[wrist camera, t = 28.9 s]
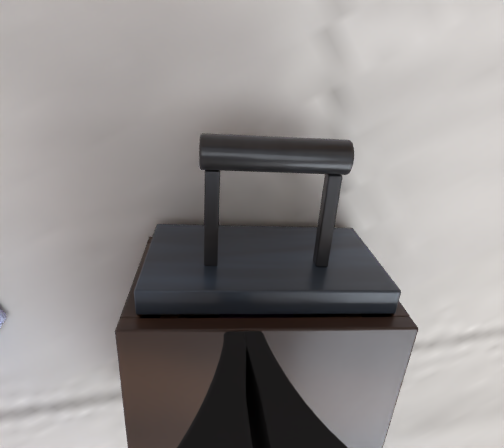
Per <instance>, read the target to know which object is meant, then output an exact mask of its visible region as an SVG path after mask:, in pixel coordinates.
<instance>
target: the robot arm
mask: <svg viewBox="0 0 504 448" xmlns="http://www.w3.org/2000/svg"><path fill="white" fill-rule="evenodd" d="M5 319H6V314H5V312H4V311H2V310H1V309H0V328H1V326H2V324H3V323H4V321H5ZM177 448H348V447H347V446H346V445H345V444H344V443H343V442H342V441H341V440H340V439H338V438H337V437H336V436H335V435H334V434H333V433H332V432H331V431H330V430H329V429H328V428H327V427H326V426H325V424H324V423H323V422H322V421H321V420H320V419H319V418H318V417H317V416H316V414H315V413H314V412H313V411H312V410H311V409H310V407H309V406H308V405H307V404H306V402H305V401H304V400H303V399H302V397H301V396H300V395H299V393H298V392H297V391H296V389H295V388H294V386H293V385H292V384H291V382H290V381H289V379H288V378H287V376H286V375H285V373H284V371H283V370H282V368H281V367H280V365H279V363H278V362H277V360H276V358H275V356H274V355H273V353H272V351H271V349H270V347H269V345H268V343H267V341H266V339H265V336H264V334H263V333H262V332H261V331H229V332H226V333H225V334H224V341H223V347H222V352H221V355H220V359H219V362H218V365H217V368H216V371H215V374H214V377H213V380H212V382H211V384H210V387H209V389H208V392H207V394H206V396H205V398H204V401H203V403H202V405H201V407H200V409H199V411H198V413H197V415H196V416H195V418H194V420H193V422H192V424H191V425H190V427H189V429H188V431H187V432H186V434H185V436H184V437H183V439H182V441H181V442H180V444H179V445H178V447H177Z"/></svg>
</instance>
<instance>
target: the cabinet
mask: <svg viewBox="0 0 504 448" xmlns="http://www.w3.org/2000/svg"><path fill="white" fill-rule="evenodd" d="M151 240H152V237H149V239H148V242H147V245H146V248H145V250H144V253H143V256H142V259H141V261H140V264H139V267H138V270H137V272H136V275H135V278H134V281H133V283H132V286H131V289H130V292H129V294H128V297H127V300H126V303H125V306H124V308H123V311H122V314H121V317H120V319H119V322H118V325H117V328H116V330H115V334H116V344H117V353H118V362H119V371H120V380H121V389H122V398H123V407H124V416H125V425H126V435H127V444H128V448H177V447H178V445H179V444H180V442H181V441H182V439H183V437H184V436H185V434H186V432H187V431H188V429H189V427H190V425H191V424H192V422H193V420H194V418H195V416H196V415H197V413H198V411H199V409H200V407H201V405H202V403H203V401H204V398H205V396H206V394H207V392H208V389H209V387H210V384H211V382H212V380H213V377H214V374H215V371H216V368H217V365H218V362H219V359H220V355H221V352H222V347H223V341H224V334H225V333H226V332H229V331H261V332H262V333H263V334H264V336H265V339H266V341H267V343H268V345H269V347H270V349H271V351H272V353H273V355H274V356H275V358H276V360H277V362H278V363H279V365H280V367H281V368H282V370H283V371H284V373H285V375H286V376H287V378H288V379H289V381H290V382H291V384H292V385H293V386H294V388H295V389H296V391H297V392H298V393H299V395H300V396H301V397H302V399H303V400H304V401H305V402H306V404H307V405H308V406H309V407H310V409H311V410H312V411H313V412H314V413H315V414H316V416H317V417H318V418H319V419H320V420H321V421H322V422H323V423H324V424H325V426H326V427H327V428H328V429H329V430H330V431H331V432H332V433H333V434H334V435H335V436H336V437H337V438H338V439H340V440H341V441H342V442H343V443H344V444H345V445H346V446H347V447H348V448H383V445H384V442H385V438H386V435H387V432H388V428H389V425H390V422H391V418H392V415H393V412H394V408H395V405H396V402H397V398H398V395H399V392H400V388H401V385H402V382H403V378H404V375H405V372H406V368H407V365H408V362H409V358H410V355H411V352H412V348H413V345H414V342H415V338H416V335H417V332H418V327H417V326H416V324H415V323H414V322H413V320H412V319H411V318H410V316H409V314H408V313H407V312H406V310H405V309H404V307H403V306H402V305H401V303H400V302H398V305H397V309H396V313H394V314H361V316H362V317H289V318H160V315H137V314H136V310H135V298H134V290H135V287H136V284H137V281H138V278H139V275H140V272H141V269H142V266H143V264H144V261H145V258H146V255H147V252H148V249H149V246H150V243H151Z"/></svg>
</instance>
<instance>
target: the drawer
mask: <svg viewBox="0 0 504 448" xmlns="http://www.w3.org/2000/svg"><path fill="white" fill-rule="evenodd" d="M353 161H354V148H353V144H352V142H351V141H350V140H339V139H316V138H293V137H271V136H248V135H225V134H201V135H200V145H199V166H200V169H201V170H205V199H204V225H171V224H158V225H157V226H156V229H155V232H154V235H153V237H152V240H151V243H150V246H149V249H148V252H147V255H146V258H145V261H144V264H143V266H142V269H141V272H140V275H139V278H138V281H137V284H136V287H135V290H134V298H135V310H136V314H137V315H160V318H218V315H219V314H293V315H294V317H362V316H361V314H394V313H396V309H397V305H398V302H399V298H400V294H401V290H400V289H399V288H398V286H397V285H396V284H395V283H394V281H393V280H392V279H391V277H390V276H389V275H388V273H387V272H386V271H385V270H384V268H383V267H382V266H381V264H380V263H379V262H378V260H377V259H376V258H375V257H374V255H373V254H372V253H371V251H370V250H369V249H368V247H367V246H366V245H365V244H364V242H363V241H362V240H361V238H360V237H359V236H358V234H357V233H356V232H355V231H354V229H353V228H334V225H335V219H336V213H337V207H338V201H339V195H340V189H341V183H342V175H346V174H348V173H349V172H350V171H351V168H352V165H353ZM220 170H221V171H250V172H279V173H308V174H325V178H324V185H323V192H322V199H321V206H320V213H319V220H318V227H274V226H222V225H219V193H220Z"/></svg>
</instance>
